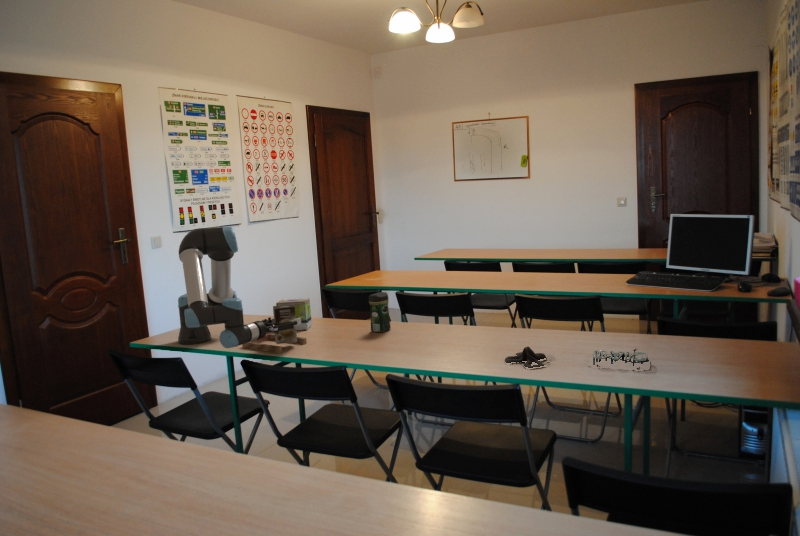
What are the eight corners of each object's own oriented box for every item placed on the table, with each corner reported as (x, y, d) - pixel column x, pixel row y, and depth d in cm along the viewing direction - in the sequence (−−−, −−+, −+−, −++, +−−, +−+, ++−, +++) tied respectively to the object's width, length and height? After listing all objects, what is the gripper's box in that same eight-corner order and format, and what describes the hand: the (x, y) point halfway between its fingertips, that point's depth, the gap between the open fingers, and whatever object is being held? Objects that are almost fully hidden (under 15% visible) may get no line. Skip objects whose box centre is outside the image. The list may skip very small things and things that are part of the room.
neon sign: (650, 339, 225) (651, 361, 198) (650, 350, 225) (651, 373, 199) (593, 337, 233) (586, 357, 206) (593, 347, 234) (586, 369, 207)
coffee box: (276, 344, 255) (273, 308, 253) (275, 341, 261) (272, 306, 259) (297, 341, 258) (295, 306, 256) (295, 338, 264) (292, 303, 262)
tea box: (312, 325, 300) (310, 297, 299) (307, 330, 291) (304, 301, 289) (283, 326, 302) (281, 298, 300) (278, 331, 292) (275, 302, 290)
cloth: (540, 373, 205) (539, 356, 204) (494, 366, 217) (493, 350, 216) (566, 357, 222) (566, 342, 221) (522, 351, 234) (522, 336, 233)
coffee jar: (380, 327, 287) (378, 290, 285) (393, 329, 282) (390, 291, 280) (367, 332, 279) (365, 294, 277) (380, 333, 275) (378, 295, 272)
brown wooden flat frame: (242, 347, 264) (242, 342, 263) (270, 338, 278) (269, 333, 277) (279, 353, 250) (278, 347, 250) (306, 343, 264) (306, 338, 264)
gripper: (236, 337, 250) (274, 325, 268) (273, 342, 238) (310, 330, 256) (234, 320, 249) (272, 309, 267) (272, 325, 237) (309, 313, 255)
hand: (291, 319), depth 262 cm, fingers closed on coffee box, 10 cm apart
